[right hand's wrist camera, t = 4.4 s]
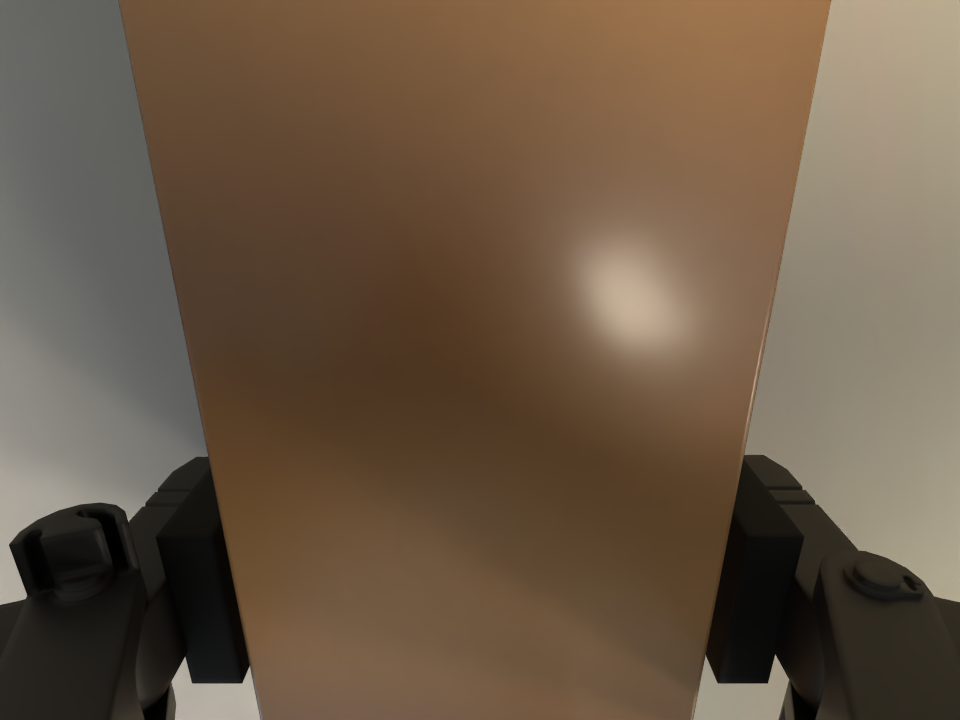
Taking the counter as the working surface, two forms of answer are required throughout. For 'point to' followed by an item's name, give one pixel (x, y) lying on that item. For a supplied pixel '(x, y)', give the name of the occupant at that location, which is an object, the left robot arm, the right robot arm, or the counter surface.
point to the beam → (475, 330)
